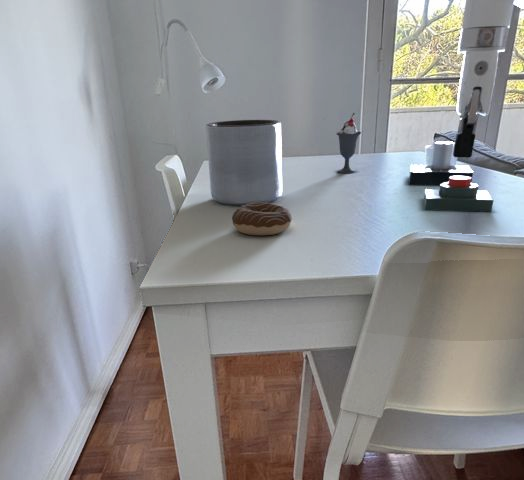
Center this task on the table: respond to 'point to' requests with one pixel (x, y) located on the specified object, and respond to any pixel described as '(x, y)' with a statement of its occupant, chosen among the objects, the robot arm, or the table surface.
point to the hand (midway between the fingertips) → (461, 156)
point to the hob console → (435, 174)
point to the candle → (430, 156)
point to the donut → (261, 219)
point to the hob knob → (442, 155)
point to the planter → (245, 161)
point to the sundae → (348, 143)
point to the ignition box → (458, 198)
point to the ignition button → (459, 181)
